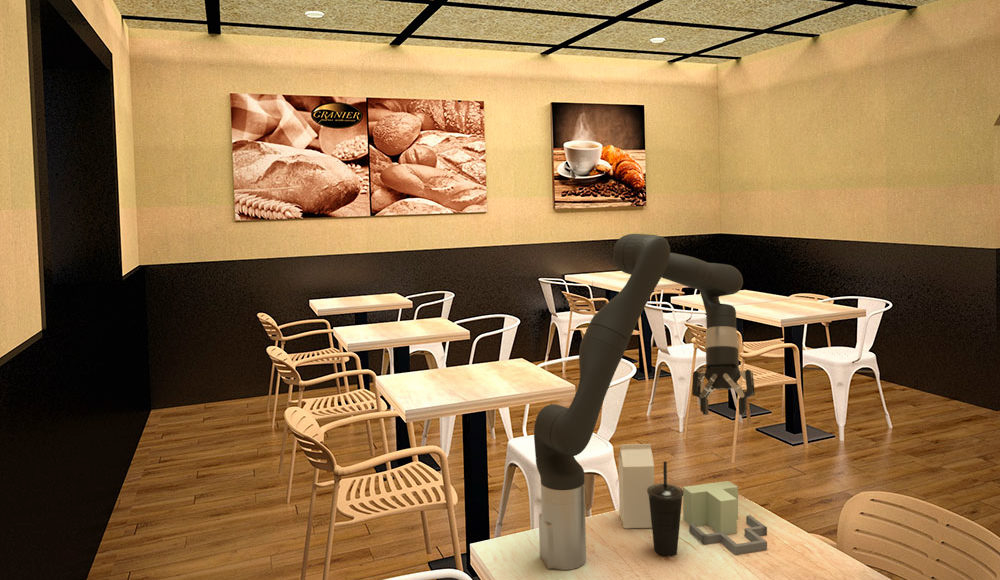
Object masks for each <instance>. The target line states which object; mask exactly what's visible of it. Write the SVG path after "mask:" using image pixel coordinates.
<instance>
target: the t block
mask: <svg viewBox="0 0 1000 580" xmlns="http://www.w3.org/2000/svg"><path fill="white" fill-rule="evenodd" d="M682 490H683V491H684V495H683V497H682V518H683V519H684V520H685V521H684V520H683V521H684V522H685V523H687V524H688V525H689V524H694V525H695V526H697V527H698V525H699V526H704V525H708V526H709V527H710V528H711V529H713V530H714V531H715V533H718V532H723V533H724V534H725V535H727V536H728V535H731V534H737V533H738V524H737V523H738V522H737V521H738V520H739V515H738V514H739V487H738V485H736V484H734V483H733V482H731V481H730V480H725V481H716V482H711V483H703V484H696V485H695V484H694V485H688V486H683V487H682Z"/></svg>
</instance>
